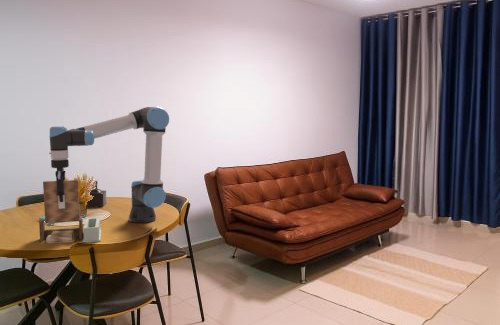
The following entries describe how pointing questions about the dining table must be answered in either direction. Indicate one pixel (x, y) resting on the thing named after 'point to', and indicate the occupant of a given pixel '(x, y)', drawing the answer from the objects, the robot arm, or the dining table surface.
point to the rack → (45, 233)
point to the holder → (92, 230)
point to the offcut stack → (61, 237)
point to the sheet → (52, 206)
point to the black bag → (97, 197)
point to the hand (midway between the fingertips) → (62, 207)
